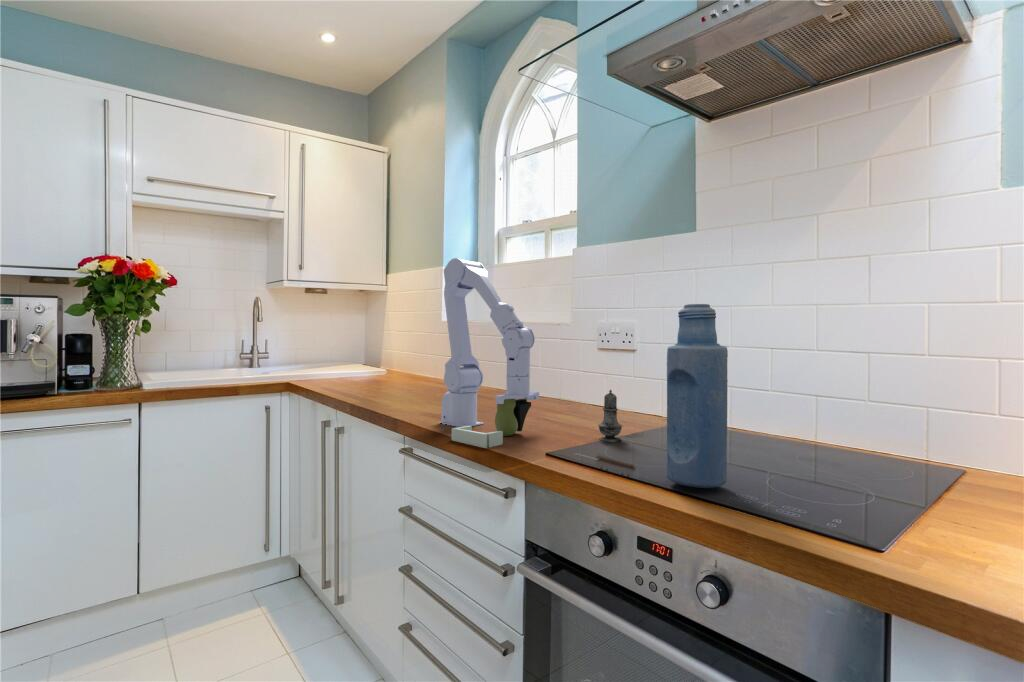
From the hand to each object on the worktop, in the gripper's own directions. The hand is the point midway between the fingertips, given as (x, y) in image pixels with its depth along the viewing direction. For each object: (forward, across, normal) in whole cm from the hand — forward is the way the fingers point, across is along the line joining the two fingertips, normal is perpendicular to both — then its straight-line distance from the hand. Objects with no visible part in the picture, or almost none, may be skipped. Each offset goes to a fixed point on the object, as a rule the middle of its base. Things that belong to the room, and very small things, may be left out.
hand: (517, 430), depth 132 cm
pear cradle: (+1, -11, 0) cm, 11 cm away
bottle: (+1, -12, -50) cm, 51 cm away
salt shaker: (+1, +10, -20) cm, 23 cm away
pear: (+1, -4, 0) cm, 4 cm away
